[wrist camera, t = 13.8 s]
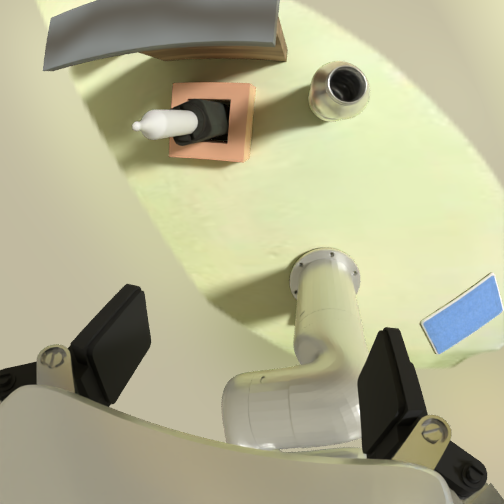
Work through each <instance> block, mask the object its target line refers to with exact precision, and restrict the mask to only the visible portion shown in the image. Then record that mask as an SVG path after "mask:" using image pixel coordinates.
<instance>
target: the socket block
mask: <svg viewBox="0 0 504 504" xmlns="http://www.w3.org/2000/svg"><path fill="white" fill-rule="evenodd" d="M255 92H256V87H254V86H253V85H252V84H249V83H224V82H188V83H173V89H172V103H171V108H173V107H175V106H178V105H180V104H182V103H184V102H187V101H189V100H191V99H202V100H208V101H231V104H230V116H229V129H228V141H222V140H207V141H202V142H198V143H194V144H189V145H185V146H179V145H177V144H176V143H175V141H174V139H173V137H170V140H169V157H181V158H197V159H211V160H223V161H233V162H245V161H246V160H248V159H249V158H250V147H251V136H252V125H253V114H254V103H255Z"/></svg>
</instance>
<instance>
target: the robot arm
mask: <svg viewBox="0 0 504 504" xmlns="http://www.w3.org/2000/svg"><path fill="white" fill-rule="evenodd" d="M331 252H333V253H332V254H331ZM300 263H302V264H300ZM354 271H355V272H354ZM359 287H360V273H359V269H358V267H357V264H356V263H355V261H354V260H353V259H352V258H351V257H350V256H349V255H348V254H346V253H345V252H343V251H340V250H338V249H333V248H319V249H315V250H312V251H309V252H308V253H306V254H304V255H303V256H302V257H300V258H299V259H298V260H297V262H296V263H295V264H294V266H293V268H292V270H291V274H290V289H291V292H292V294H293V296H294V298H295V299H296V300H297V307H296V319H295V331H294V351H295V354H296V357H297V359H298V361H299V362H300V364H301V365H296V366H292V367H285V368H277V369H269V370H261V371H253V372H247V373H242V374H239V375H236V376H235V377H233V378H232V379H230V380H229V381H228V383H227V384H226V386H225V388H224V391H223V396H222V419H223V426H224V432H225V437H226V442H227V443H224V442H219V441H215V440H210V439H207V438H202V437H199V436H195V435H191V434H187V433H184V432H180V431H177V430H173V429H169V428H167V427H163V426H160V425H157V424H154V423H151V422H148V421H145V420H142V419H139V418H136V417H134V416H131V415H128V414H126V413H123V412H120V411H117V410H115V409H112V408H110V407H109V406H110V405H111V404H114V403H115V402H116V401H117V399H118V397H119V396H120V394H121V392H122V391H123V389H124V388H125V386H126V384H127V383H128V381H129V379H130V378H131V376H132V375H133V373H134V371H135V370H136V368H137V367H138V365H139V363H140V362H141V360H142V359H143V357H144V356H145V354H146V353H147V351H148V349H149V348H150V345H151V336H150V330H149V323H148V316H147V310H146V301H145V294H144V291H141V288H140V287H139V286H135V285H130V284H126V285H125V286H124V287H123V288H122V289H121V290H120V291H119V292H118V293H117V294H116V295H115V296H114V297H113V298H112V299H111V300H110V301H109V302H108V303H107V304H106V305H105V307H104V308H103V309H102V310H101V311H100V312H99V313H98V314H97V315H96V316H95V317H94V318H93V319H92V320H91V321H90V323H89V324H88V325H87V326H86V327H85V328H84V329H83V330H82V331H81V332H80V334H79V335H78V336H77V337H76V338H75V339H74V340H73V341H72V342H71V345H70V347H69V348H68V349H67V348H66V347H65V346H63V345H59V344H56V345H50V346H47V347H46V348H44V349H43V350H42V351H41V352H40V353H39V355H38V357H37V362H33V363H29V364H24V365H20V366H15V367H10V368H5V369H3V370H0V504H504V499H503V498H502V497H501V496H500V494H499V493H498V491H497V490H496V489H495V488H494V486H493V485H492V484H491V483H490V484H489V485H488V484H487V483H486V480H487V471H486V468H485V466H484V465H483V464H482V463H481V462H480V461H479V460H477V459H476V458H474V457H473V456H471V455H470V454H468V453H467V452H466V451H464V450H463V449H461V448H460V447H459V446H457V445H456V444H455V443H453V442H452V441H450V439H451V428H450V426H449V424H448V423H447V421H446V420H444V419H443V418H441V417H439V416H436V415H428V414H427V410H426V406H425V403H424V399H423V395H422V391H421V388H420V384H419V381H418V378H417V374H416V371H415V368H414V365H413V364H412V363H411V362H410V360H409V357H408V354H407V351H406V347H405V344H404V341H403V338H402V335H401V332H400V330H399V329H397V328H388V327H385V328H384V329H383V331H379V332H378V334H377V337H376V339H375V341H374V344H373V346H372V348H371V351H370V353H369V352H368V348H367V344H366V340H365V335H364V330H363V325H362V320H361V316H360V311H359V306H358V302H357V297H356V294H357V292H358V290H359ZM296 290H297V291H296ZM360 438H362V449H361V448H356V447H343V448H332V449H322V450H313V451H302V452H282V451H281V450H280V449H288V448H309V447H319V446H327V445H335V444H341V443H345V442H350V441H353V440H357V439H360Z"/></svg>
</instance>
